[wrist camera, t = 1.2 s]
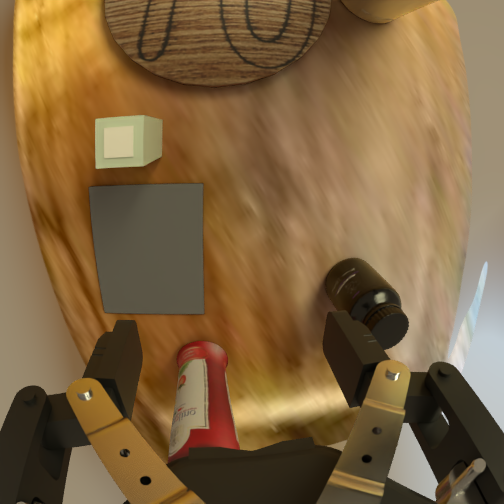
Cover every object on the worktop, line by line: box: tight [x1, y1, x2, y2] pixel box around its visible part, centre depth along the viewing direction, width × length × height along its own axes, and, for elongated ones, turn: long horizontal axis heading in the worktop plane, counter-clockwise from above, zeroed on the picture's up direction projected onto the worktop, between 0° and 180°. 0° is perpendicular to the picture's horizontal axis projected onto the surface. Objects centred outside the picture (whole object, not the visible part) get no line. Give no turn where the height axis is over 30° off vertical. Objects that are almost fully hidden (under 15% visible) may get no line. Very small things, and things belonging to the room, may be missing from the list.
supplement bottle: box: [326, 258, 409, 350], centre depth 35 cm, size 7×7×12 cm
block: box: [95, 115, 163, 169], centre depth 27 cm, size 4×4×10 cm
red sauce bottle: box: [168, 341, 240, 463], centre depth 29 cm, size 7×7×28 cm
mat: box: [89, 183, 204, 314], centre depth 36 cm, size 16×13×1 cm
